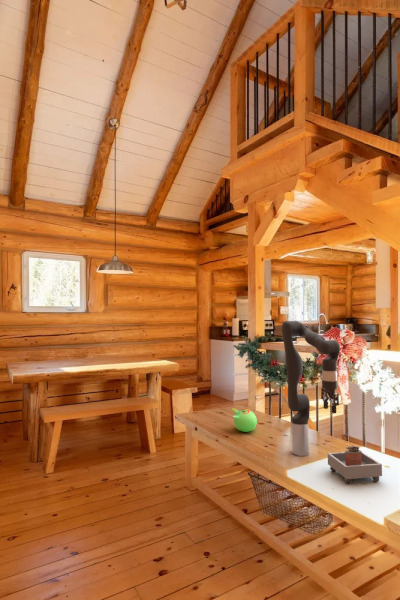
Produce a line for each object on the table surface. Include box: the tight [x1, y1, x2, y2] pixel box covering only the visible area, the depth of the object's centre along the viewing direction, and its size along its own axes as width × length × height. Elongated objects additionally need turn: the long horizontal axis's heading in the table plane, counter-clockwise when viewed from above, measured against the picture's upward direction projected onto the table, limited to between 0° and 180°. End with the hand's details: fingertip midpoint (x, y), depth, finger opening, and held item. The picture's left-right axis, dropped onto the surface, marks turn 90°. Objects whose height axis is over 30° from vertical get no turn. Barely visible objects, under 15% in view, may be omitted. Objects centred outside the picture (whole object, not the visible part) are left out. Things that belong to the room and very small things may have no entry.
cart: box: [327, 451, 383, 485], centre depth 190 cm, size 18×18×8 cm
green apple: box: [231, 407, 258, 433], centre depth 265 cm, size 18×17×15 cm
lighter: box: [344, 444, 363, 466], centre depth 191 cm, size 8×3×10 cm, turn 96°
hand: (329, 410), depth 200 cm, fingers open, 8 cm apart
